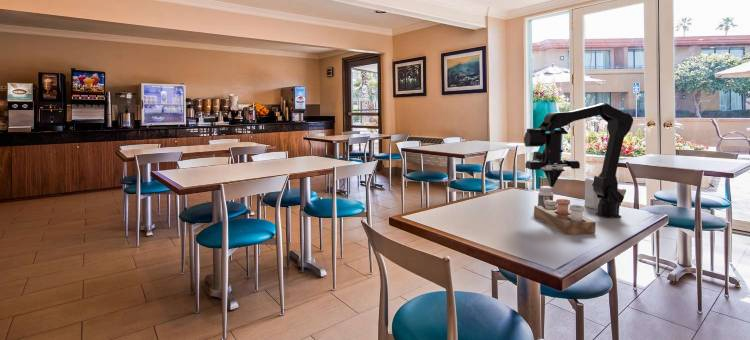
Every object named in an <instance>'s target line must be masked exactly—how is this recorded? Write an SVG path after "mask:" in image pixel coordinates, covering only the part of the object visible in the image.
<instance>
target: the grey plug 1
mask: <svg viewBox="0 0 750 340" xmlns="http://www.w3.org/2000/svg"><path fill="white" fill-rule="evenodd" d="M544 205H545V208H546V209H555V206H556V205H557V204H556V200H554V199H553V200H545V201H544Z"/></svg>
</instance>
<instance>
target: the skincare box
mask: <svg viewBox="0 0 750 340" xmlns="http://www.w3.org/2000/svg"><path fill="white" fill-rule="evenodd" d="M593 182H594V177H589V178H585V179H584V207H587V208H590V209H594V210H598V203H599V199H600V198H597V194H596V193H595V192H594V190H593V186H592V184H593Z"/></svg>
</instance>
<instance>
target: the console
mask: <svg viewBox="0 0 750 340" xmlns="http://www.w3.org/2000/svg"><path fill="white" fill-rule="evenodd" d="M533 206H534V208H533V217H535V218H537V219H538V220H540V221H543V222H544V223H546V224H547V225H549V226H551V227H553V228H554V229H556V230H557V231H558V232H560V233H562V234H564V235H591V234H593V235H594V234H596V225H597V224H596V223H597V222H596V221H594V220H592V219H590V218H588V217H586V216H584V215H583V216H582V222H571V221H570V220H571V210H570V209H569V208H568V215H558V214H557V205H556V206H555V209H546V208H545V206H538V205H533Z"/></svg>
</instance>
